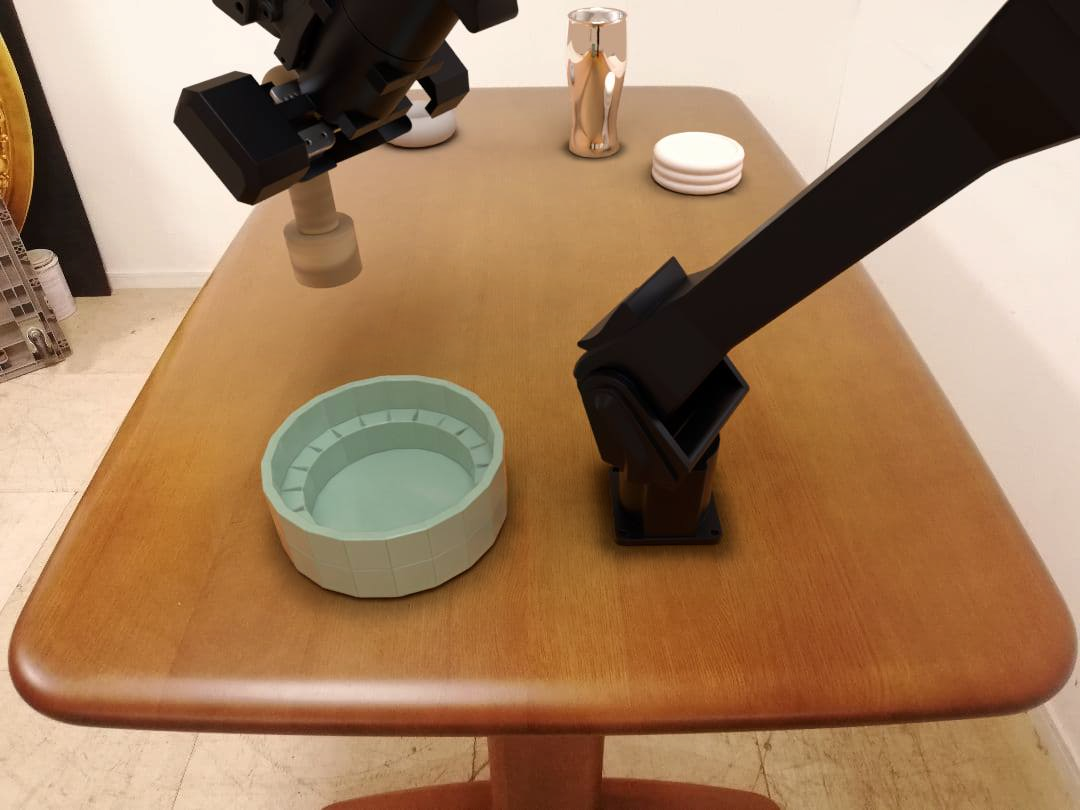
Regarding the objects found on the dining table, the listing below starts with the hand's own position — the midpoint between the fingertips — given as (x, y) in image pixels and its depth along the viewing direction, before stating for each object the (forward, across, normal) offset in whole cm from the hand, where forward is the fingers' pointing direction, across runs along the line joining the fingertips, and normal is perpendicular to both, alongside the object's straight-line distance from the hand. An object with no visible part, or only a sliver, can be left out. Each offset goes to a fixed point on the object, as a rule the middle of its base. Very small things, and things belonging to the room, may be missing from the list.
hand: (293, 174), depth 52 cm
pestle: (+4, 0, +6) cm, 7 cm away
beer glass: (+15, -48, +8) cm, 51 cm away
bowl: (+1, +10, +22) cm, 24 cm away
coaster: (+5, -47, +18) cm, 51 cm away
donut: (+29, -40, -7) cm, 50 cm away
